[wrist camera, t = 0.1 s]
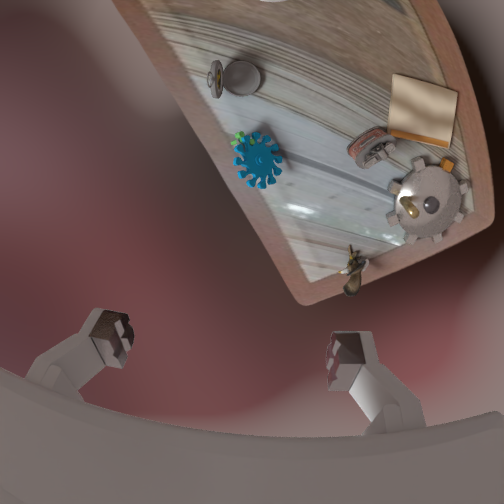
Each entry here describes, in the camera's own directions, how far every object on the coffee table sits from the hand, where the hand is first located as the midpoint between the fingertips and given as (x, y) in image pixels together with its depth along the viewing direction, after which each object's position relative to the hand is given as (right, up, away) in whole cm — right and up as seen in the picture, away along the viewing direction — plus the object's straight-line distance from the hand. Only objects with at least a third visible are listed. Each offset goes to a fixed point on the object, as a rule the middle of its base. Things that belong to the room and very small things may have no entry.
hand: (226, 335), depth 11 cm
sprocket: (+37, +14, +44) cm, 59 cm away
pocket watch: (-2, +33, +35) cm, 48 cm away
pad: (+33, +29, +34) cm, 56 cm away
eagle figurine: (+23, +2, +53) cm, 58 cm away
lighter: (+22, +24, +39) cm, 51 cm away
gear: (+4, +23, +42) cm, 48 cm away
